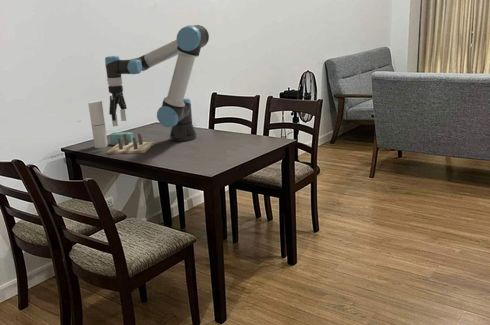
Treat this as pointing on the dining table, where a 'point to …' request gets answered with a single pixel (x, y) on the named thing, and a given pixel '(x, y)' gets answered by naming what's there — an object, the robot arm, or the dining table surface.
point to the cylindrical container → (98, 124)
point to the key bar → (115, 136)
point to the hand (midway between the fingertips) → (119, 123)
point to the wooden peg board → (130, 146)
